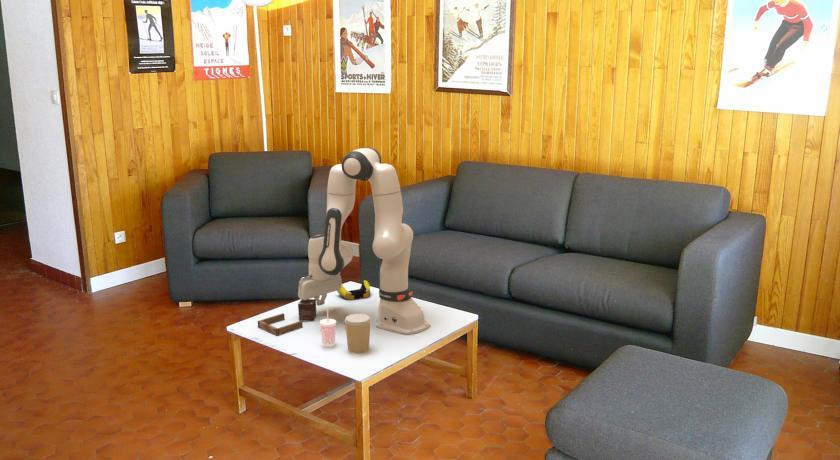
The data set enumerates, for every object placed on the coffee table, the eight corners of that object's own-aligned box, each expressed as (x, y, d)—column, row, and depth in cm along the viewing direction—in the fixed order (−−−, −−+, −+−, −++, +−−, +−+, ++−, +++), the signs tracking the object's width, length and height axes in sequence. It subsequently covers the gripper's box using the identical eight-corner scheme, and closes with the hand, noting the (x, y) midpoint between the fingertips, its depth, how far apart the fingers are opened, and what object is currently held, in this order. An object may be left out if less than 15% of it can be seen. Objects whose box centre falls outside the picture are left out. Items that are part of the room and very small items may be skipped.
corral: (302, 327, 288) (302, 321, 288) (277, 335, 280) (277, 329, 279) (283, 319, 297) (282, 313, 296) (258, 327, 289) (257, 321, 288)
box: (316, 316, 301) (316, 299, 299) (313, 321, 295) (312, 304, 293) (302, 315, 301) (301, 298, 299) (298, 320, 295) (297, 303, 293)
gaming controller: (335, 295, 326) (342, 302, 317) (335, 283, 324) (342, 290, 315) (367, 290, 332) (375, 297, 323) (367, 279, 330) (375, 285, 321)
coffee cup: (376, 348, 268) (376, 317, 265) (358, 356, 262) (357, 324, 259) (358, 341, 274) (358, 311, 272) (340, 349, 268) (339, 318, 265)
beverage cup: (317, 344, 272) (315, 308, 269) (330, 339, 276) (329, 304, 273) (326, 349, 268) (325, 313, 264) (340, 344, 272) (339, 309, 268)
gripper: (303, 280, 289) (304, 313, 293) (343, 269, 303) (344, 300, 307) (294, 276, 293) (295, 309, 297) (333, 265, 308) (334, 297, 311)
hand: (320, 304), depth 302 cm, fingers closed
